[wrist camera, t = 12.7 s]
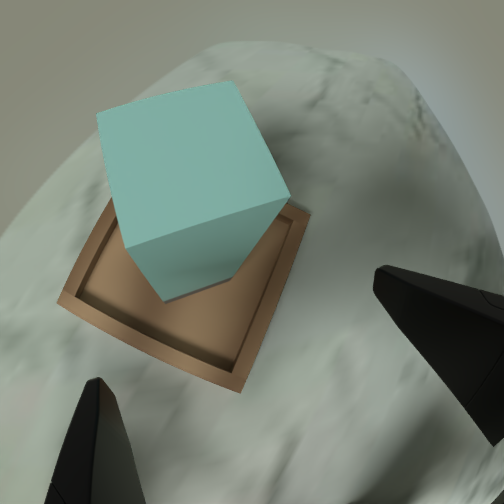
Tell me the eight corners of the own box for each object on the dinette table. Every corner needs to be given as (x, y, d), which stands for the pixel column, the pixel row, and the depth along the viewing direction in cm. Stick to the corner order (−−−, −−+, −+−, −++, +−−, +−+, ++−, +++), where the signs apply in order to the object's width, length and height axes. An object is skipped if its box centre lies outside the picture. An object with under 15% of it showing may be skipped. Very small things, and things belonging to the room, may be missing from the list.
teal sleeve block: (206, 219, 21) (233, 80, 9) (229, 280, 21) (291, 195, 8) (144, 240, 20) (96, 113, 8) (165, 304, 19) (125, 248, 7)
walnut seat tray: (303, 222, 23) (310, 214, 22) (236, 389, 19) (240, 393, 18) (149, 153, 23) (147, 142, 21) (65, 305, 18) (56, 303, 17)
